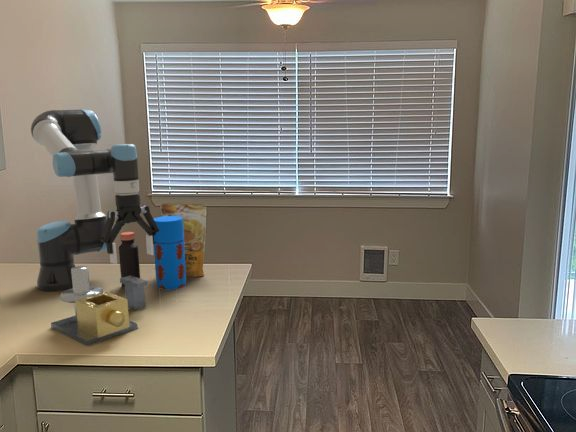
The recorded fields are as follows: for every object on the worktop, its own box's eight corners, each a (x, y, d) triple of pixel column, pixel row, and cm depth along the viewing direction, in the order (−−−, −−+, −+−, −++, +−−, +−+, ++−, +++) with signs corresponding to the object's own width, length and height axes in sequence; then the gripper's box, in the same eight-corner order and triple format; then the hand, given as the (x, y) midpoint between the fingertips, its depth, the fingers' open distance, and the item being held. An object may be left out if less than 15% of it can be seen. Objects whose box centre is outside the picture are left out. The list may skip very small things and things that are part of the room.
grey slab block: (122, 305, 182) (119, 278, 180) (132, 302, 185) (130, 275, 183) (139, 312, 176) (137, 284, 174) (150, 309, 178) (148, 281, 177)
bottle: (133, 289, 198) (129, 235, 195) (117, 288, 201) (113, 234, 197) (144, 284, 205) (140, 231, 201) (128, 282, 207) (124, 230, 203)
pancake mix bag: (167, 270, 222) (163, 202, 217) (211, 273, 217) (208, 203, 212) (159, 275, 215) (154, 205, 210) (204, 278, 211) (201, 206, 206)
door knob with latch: (49, 326, 165) (43, 270, 162) (98, 311, 177) (93, 259, 173) (94, 349, 148) (88, 287, 145) (144, 331, 160) (140, 273, 157)
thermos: (172, 291, 196) (167, 222, 191) (150, 287, 201) (145, 220, 197) (192, 283, 205) (189, 217, 200) (171, 279, 210) (167, 215, 206)
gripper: (97, 199, 162) (103, 269, 165) (167, 189, 180) (171, 252, 184) (84, 197, 166) (90, 265, 170) (153, 188, 185) (157, 249, 189)
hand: (132, 258), depth 177 cm, fingers open, 13 cm apart
